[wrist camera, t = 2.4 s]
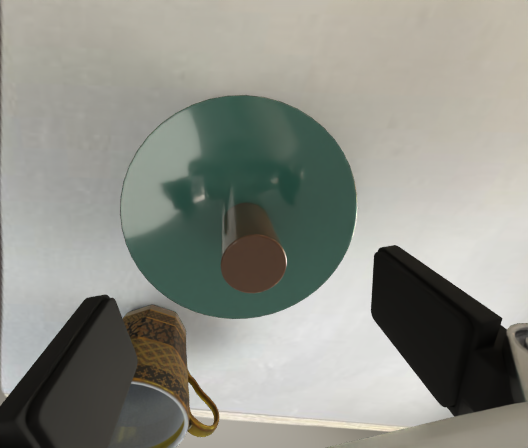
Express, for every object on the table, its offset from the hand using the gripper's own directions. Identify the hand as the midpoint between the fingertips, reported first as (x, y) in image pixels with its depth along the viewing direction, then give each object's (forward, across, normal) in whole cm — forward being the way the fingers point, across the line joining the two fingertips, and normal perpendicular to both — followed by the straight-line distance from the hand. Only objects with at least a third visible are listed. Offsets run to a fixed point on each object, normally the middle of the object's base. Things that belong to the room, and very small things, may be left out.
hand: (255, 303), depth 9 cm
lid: (+8, 0, 0) cm, 8 cm away
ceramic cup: (+16, +10, +15) cm, 24 cm away
